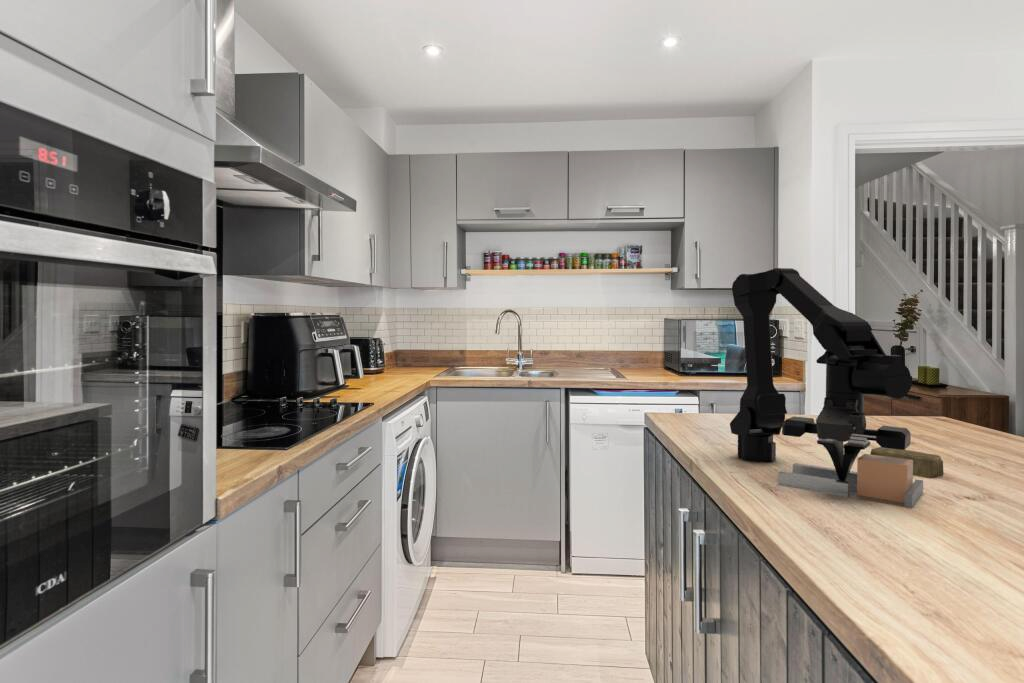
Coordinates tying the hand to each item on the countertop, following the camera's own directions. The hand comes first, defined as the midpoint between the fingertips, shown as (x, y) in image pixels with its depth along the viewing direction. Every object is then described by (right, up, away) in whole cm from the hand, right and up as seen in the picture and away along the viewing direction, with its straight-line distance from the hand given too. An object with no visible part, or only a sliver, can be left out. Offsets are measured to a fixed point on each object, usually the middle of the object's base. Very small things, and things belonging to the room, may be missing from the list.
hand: (842, 481), depth 103 cm
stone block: (+18, -2, +12) cm, 22 cm away
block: (+4, -1, -4) cm, 6 cm away
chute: (+1, -2, -1) cm, 2 cm away
